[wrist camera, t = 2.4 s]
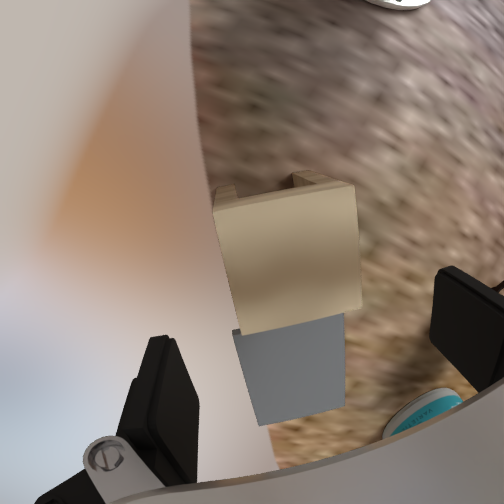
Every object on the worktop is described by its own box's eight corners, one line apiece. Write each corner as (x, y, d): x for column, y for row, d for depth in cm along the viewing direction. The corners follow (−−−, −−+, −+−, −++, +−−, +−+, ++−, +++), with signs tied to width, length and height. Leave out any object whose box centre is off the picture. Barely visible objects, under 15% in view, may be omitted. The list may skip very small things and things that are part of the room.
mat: (232, 330, 24) (232, 335, 24) (340, 306, 25) (343, 310, 24) (258, 420, 29) (258, 426, 28) (342, 400, 29) (344, 405, 28)
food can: (395, 399, 30) (462, 519, 13) (467, 376, 31) (538, 466, 14) (370, 454, 34) (412, 554, 17) (437, 432, 35) (486, 514, 18)
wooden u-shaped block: (216, 187, 21) (212, 212, 13) (308, 170, 21) (354, 185, 13) (235, 273, 23) (241, 335, 15) (320, 255, 23) (362, 307, 15)
